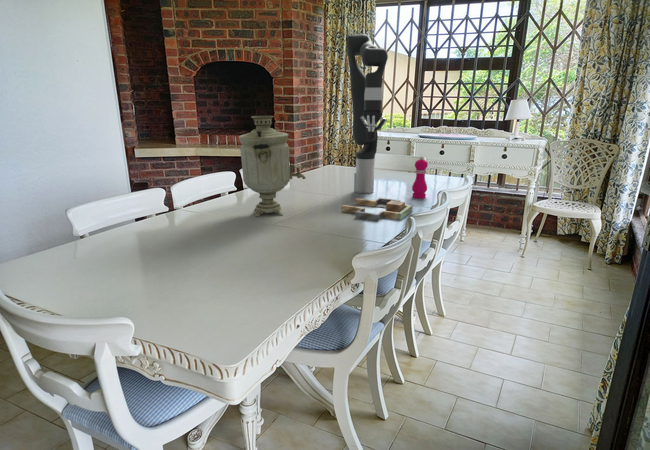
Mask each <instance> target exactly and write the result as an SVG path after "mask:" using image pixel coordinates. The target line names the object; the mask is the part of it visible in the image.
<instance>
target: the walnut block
mask: <svg viewBox="0 0 650 450" xmlns="http://www.w3.org/2000/svg"><path fill="white" fill-rule="evenodd" d="M405 204H406V202H405V201H401V200H400V201H393V200H391V201H390V202H388V203H386V208H385V211H391V212H398V213H399V212H400V211H402V210H403V209H404V208H405Z"/></svg>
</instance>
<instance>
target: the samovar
mask: <svg viewBox="0 0 650 450" xmlns="http://www.w3.org/2000/svg"><path fill="white" fill-rule="evenodd" d="M274 117H275V116H274V115H253V116H251V119H253V122H254V123H253V124H254V125H255V128H254V129H252V130H251V132H248V133H245V134H241V135H239V136H238V140H239V142H240V144H241V146H240V150H239V151H240V158H241V160H240V161H241V172H242V180H243V182H244V185H245V186H246V187H247V188H248V189H250V190H252V191H253V192H254V193H258V194H259V199H261V201H259V202H258V203H257V204H256V205H255V208H254V211H255V212H256V213H255V215H254V217H255V218H259V217H260V216H261V215H262V214H263V213H266V214H268V213H276V214H277V215H278V216H279V217H280V216H282V217H283V216H284V214H283V213H282V212H281V210H282V208H281V204H280V203H278V201H276V200H274V199H275V198H277V193H278V192H280V191H282V190H283V189H285V187H286V186H288V184H289V183H290V180H292V179H293V177H296V178H297V179H302V180H305V179H307V177H306V176H305V175H304V174H302V173H301V172H300V168H303V167H302V166H303V165H300V164H294V165H293V167H294V169H296V173H293V172H292V171H291V169H290V168H291V166H290V149H289V145H288V143H287V142H288V140H289V133H286V132H283V131H282V132H281V131H277V130H276V129H275V128H272V127H271V126H272V119H273V118H274Z"/></svg>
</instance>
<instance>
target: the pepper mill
mask: <svg viewBox="0 0 650 450" xmlns="http://www.w3.org/2000/svg"><path fill="white" fill-rule="evenodd" d="M428 166H429V165H428V161H427V160H426V159H424V156H422V155H420V157H419V159H418V160H416V161H415V162H414V168H415V180H414V182H413V184H412V187H411V190H412V192H413V193H412V198H414V199H418V200H419V199H426V196H427V195H426V192H427V191H428V185H427V181H426V179H425V178H426V177H425V176H426V173H427V170H426V169H427V168H428Z"/></svg>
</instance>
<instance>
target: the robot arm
mask: <svg viewBox="0 0 650 450" xmlns="http://www.w3.org/2000/svg"><path fill="white" fill-rule="evenodd" d="M345 41H346V43H345V44H346V53H347V61H348V67H349V77H350V93H351V102H352V122H353V123H352V135H353V140H354V142H355V144H356V145H358V146H362V148H361V149H360V150H358V151H357V152H356V156H355V157H356V161H355V162H356V163H355V173H354V174H353V175H354V177H353V179H354V180H353V182H354V183H353V184H354V185H353V192H355V193H359V194H372V193H374V189H375V184H374V183H375V162H376V159H375V157H376V154H377V150H378V149H377V148H378V140H379V139H378V138H379V137H378V135H379V134H378V131H380V130H381V129H382V128H383V126H385V124H386V122H388V119H387V118H385V117H384V116H383V111H382V110H383V77H384V72H385V69H386V65H387V63H388V62H387V61H388V58H389V57H388V55H389V54H388V50H386V49H385V48H383V47H380V48H377V47H376V46H375V44H373V41H372V40H371V37H370V36H369V35H368V34H366V33H359V34H358V33H357V34H349V35H347V37H346V40H345ZM356 56H360V57H361V62H362V64H363V66H364V67H365V66H366V67H377V69H376V70H375V71H373V72H368V73H366V75H365V73H364V71H363V70H362V69H361V68H360V66H359V64H358V61H357V59H356V58H357V57H356ZM379 121H380V122H379Z"/></svg>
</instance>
